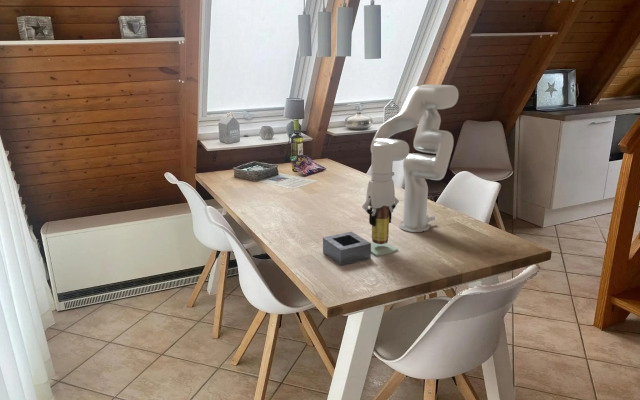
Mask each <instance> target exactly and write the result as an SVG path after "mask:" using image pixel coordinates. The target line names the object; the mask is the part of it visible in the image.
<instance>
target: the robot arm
mask: <svg viewBox="0 0 640 400" xmlns="http://www.w3.org/2000/svg"><path fill="white" fill-rule="evenodd" d="M459 95H460V94H459V90H458V88H457V87H456V86H455V85H452V84H451V85H449V84H435V83H434V84H432V83H431V84H421V85H417V86H414V87H412V88H411V89H410V90H409V92H408V94H407V96H406V97H405V99H404V102H403V104H402V105H401V108H400V109H399V110H398V113H397V114H396V115H395V116H394V115H393V117H391V118H389V119H388V120H386V121H385V122H384V123H382V124H381V126H379V128H378V129H377V131H376V132H375V134H374V137H373V139H372V141H371V144H370V153H371V166H370V167H371V169H370V170H371V171H370V174H371V175H370V180H368V184H367V188H366V195H365V196H366V197H365V202H364V204H363V205H362V209H363V210H364V211H365V212H366V213H367V215H368V222H369V225H370V226H371V227H372V226H376V216H375V213H376V210H377V208H381V207H382V206H387V207H388V208H389V224H390V223H392V213H394V209H395V208H396V206H397V205H398V204H399V203H400V200H399V199H397V197H396V196H395V194H396V193H395V184H394V179H393V176H395V172H394V171H393V165H394V163H393V162H397V161H398V162H399V161H402V167H403V175H404V191H403V192H404V197H403V214H402V217H403V218H402V221H401V222H400V223H399V228H400V229H401V230H403V231H406V232H408V233H409V232H410V233H422V232H423V231H424V232H426V231H429V230H430V229H431V228H430V227H431V226H430V222H433V221H435V220H436V216H434V215H430V216H429V215H427V213H428V212H427V211H428V196H429V195H428V194H429V187H428V183H427V181H426V180H432V181H441V180H442V179H444V177H445V175H446V173H447V170H448V167H449V163H450V159H451V155H452V152H453V148H454V136H453V134H452V133H451V132H450V131H448V130H442V129H440V126H441V123H442V120H441V115H440V113H439V111H438V110H445V109H450V108H452V107H454V106H455V105H456V104H457V103H458V100H459ZM416 127H417V129H416V132H415V135H414V138H413V148H414V149H415V150H416V151H418V152H422V153H410V145H409V143H408V142H406V140H402V139H395V138H390V137H392V136H394V135H395V134H398V133H402V132H405V131H408V130H411V129H414V128H416ZM424 153H426V154H424ZM427 153H428V154H427ZM430 154H431V155H430ZM432 154H434V155H432ZM435 154H436V155H435Z"/></svg>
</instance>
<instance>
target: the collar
mask: <svg viewBox="0 0 640 400" xmlns="http://www.w3.org/2000/svg"><path fill="white" fill-rule="evenodd" d="M371 243H372V242H370V241H368V240H366V239H364V238H363V237H361V236H359V235H358V234H356V233H355V232H353V231H347V232H343V233H339V234H338V233H337V234H333V235H328V236H324V237H322V253H323V254H325V255H326V256H327V257H328V258H330V259H331V260H332V261H334V262H335V263H336V264H338V265H339V266H341V267H342V266H346V265H351V264H354V263H358V262H364V261H366V260H367V261H368V260H371V259H372V258H371V257H372V256H371V255H372V254H371Z"/></svg>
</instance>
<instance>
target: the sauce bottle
mask: <svg viewBox="0 0 640 400" xmlns="http://www.w3.org/2000/svg"><path fill="white" fill-rule="evenodd" d="M375 216H376V226H372V225H371V241H372V243H373V242H374V243H376V244H385V243H389V234H390V233H389V232H390V231H389V230H390V223H389V208H388V207H387V206H382V207H381V208H377V210H376V213H375Z"/></svg>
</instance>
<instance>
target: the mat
mask: <svg viewBox="0 0 640 400" xmlns="http://www.w3.org/2000/svg"><path fill="white" fill-rule="evenodd" d="M370 243H371V255H373V256H374V257H379V256H383V255H387V254H391V253H396V252H399V248H397V247H395V246H393V244H390V243H389V242H387V243H385V244H376V243H374V242H373V241H372V242H370Z"/></svg>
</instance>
